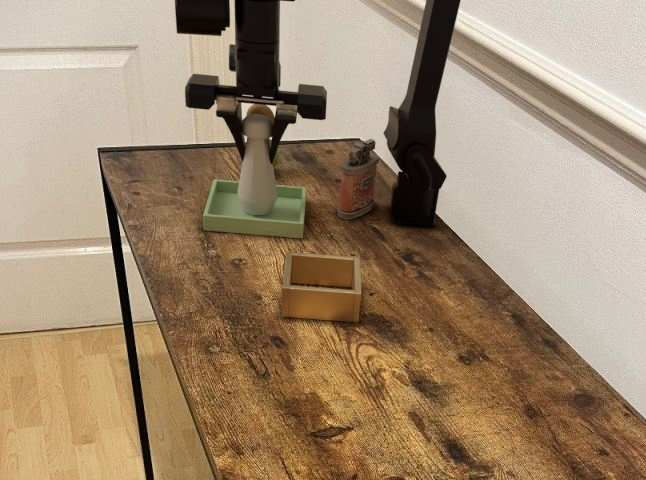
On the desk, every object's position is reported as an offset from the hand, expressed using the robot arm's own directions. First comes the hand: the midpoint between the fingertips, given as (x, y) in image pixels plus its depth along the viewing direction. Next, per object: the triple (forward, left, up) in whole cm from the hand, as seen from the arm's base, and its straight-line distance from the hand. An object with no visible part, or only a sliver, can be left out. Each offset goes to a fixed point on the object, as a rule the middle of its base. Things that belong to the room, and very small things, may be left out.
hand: (257, 161), depth 111 cm
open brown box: (-10, +24, -8) cm, 27 cm away
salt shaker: (0, 0, -7) cm, 7 cm away
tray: (0, 0, -8) cm, 8 cm away
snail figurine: (0, -17, -8) cm, 19 cm away
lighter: (-15, -5, -8) cm, 18 cm away
